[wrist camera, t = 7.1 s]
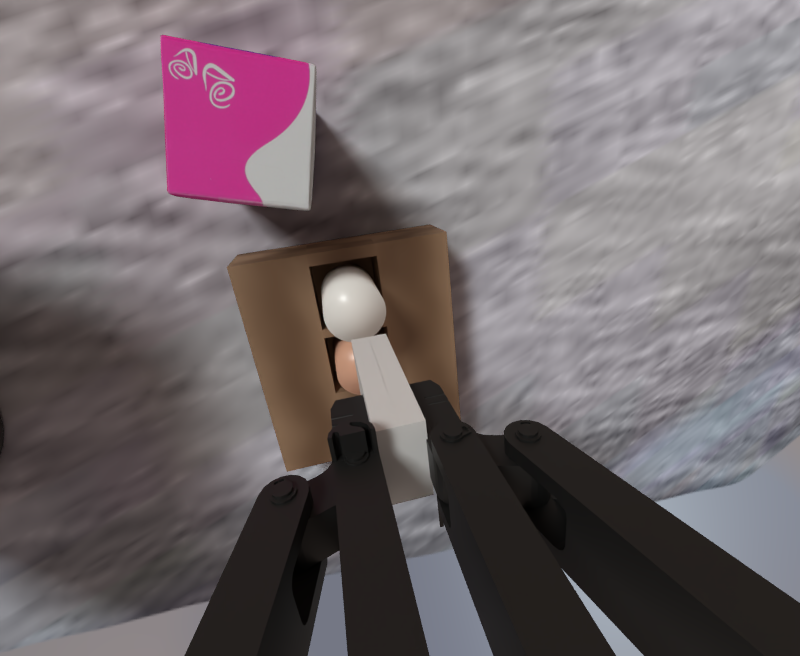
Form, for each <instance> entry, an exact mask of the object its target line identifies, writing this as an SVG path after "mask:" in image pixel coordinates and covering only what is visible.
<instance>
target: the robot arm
mask: <svg viewBox="0 0 800 656" xmlns="http://www.w3.org/2000/svg"><path fill="white" fill-rule="evenodd" d="M351 343H352V349H353V354H354V360H355V366H356V371H357V377H358V383H359V388H360V394H361V395H359V396H354V397H349V398H345V399H340V400H335V402H334V404H333V406H332V408H331V409H330V410H331V423H332V430H331V431H330V432H329V433H328V438H327V440H328V445H329V449H330V454H331V458H332V464H331V465H330V466H329V468H328V469H327V470H326V471H324V472H323V473H322V474H320V475H319V476H317V477H315V478H313V479H311V480H309V481H306V479H305V478H303V477H301V476H298V475H288V476H283V477H280V478H278V479H275V480H273V481H271V482H270V483H269V484H268V485H266V486H265V487H264V488H263V489H262V491H261V492H260V494H259V495H258V497H257V500H256V502H255V504H254V506H253V508H252V511H251V513H250V515H249V517H248V519H247V521H246V524H245V526H244V528H243V530H242V532H241V534H240V537H239V539H238V541H237V543H236V545H235V547H234V550H233V552H232V554H231V556H230V558H229V560H228V563H227V565H226V567H225V569H224V571H223V573H222V576H221V578H220V580H219V582H218V584H217V587H216V589H215V591H214V593H213V595H212V597H211V600H210V602H209V604H208V606H207V608H206V611H205V613H204V615H203V617H202V619H201V621H200V624H199V626H198V628H197V630H196V632H195V634H194V637H193V639H192V641H191V643H190V645H189V647H188V649H187V652H186V654H185V656H307V655H308V651H309V646H310V641H311V636H312V632H313V627H314V623H315V618H316V613H317V608H318V604H319V599H320V595H321V590H322V585H323V581H324V576H325V571H326V567H327V557H329V556H331V555H332V554H334V553H336V552H337V551H339V550H340V562H341V575H342V587H343V600H344V612H345V624H346V638H347V651H348V656H429V652H428V648H427V644H426V640H425V636H424V632H423V628H422V624H421V619H420V615H419V611H418V607H417V604H416V600H415V595H414V591H413V587H412V583H411V579H410V575H409V571H408V568H407V563H406V559H405V555H404V551H403V547H402V543H401V539H400V535H399V531H398V527H397V523H396V518H395V514H394V510H393V506H392V505H394V504H398V503H402V502H406V501H410V500H414V499H418V498H422V497H426V496H430V495H434V494H433V486H434V488H435V491H436V493H437V502H438V511H439V521H440V527H443V526H444V525H445V527H446V530H447V533H448V535H449V538H450V541H451V543H452V546H453V549H454V551H455V554H456V557H457V559H458V562H459V565H460V567H461V570H462V573H463V575H464V578H465V581H466V584H467V586H468V589H469V591H470V594H471V597H472V600H473V602H474V605H475V607H476V610H477V613H478V616H479V618H480V621H481V624H482V626H483V629H484V631H485V634H486V637H487V640H488V642H489V645H490V648H491V650H492V653H493V656H616V655H615V653H614V652H613V650H612V649H611V647H610V645H609V644H608V642H607V641H606V639H605V638H604V636H603V634H602V633H601V631H600V629H599V628H598V626H597V625H596V623H595V622H594V620H593V618H592V617H591V615H590V613H589V612H588V610H587V609H586V607H585V606H584V604H583V602H582V601H581V599H580V598H579V596H578V594H577V593H576V591H575V590H574V588H573V586H572V585H571V583H570V582H569V580H568V579H567V577H566V575H565V574H564V572H563V570H564V571H565V572H566V573H567V575H568V576H569V577H570V578H571V579H572V580H573V581H574V582H575V583H576V584H577V585H578V586H579V587H580V588H581V589H582V590H583V591H584V593H585V594H586V595H587V596H588V597H589V598H590V599H591V600H592V601H593V602H594V603H595V604H596V605H597V606H598V607H599V608H600V609H601V611H602V612H603V613H604V614H605V615H606V616H607V617H608V618H609V619H610V620H611V621H612V622H613V623H614V624H615V625H616V626H617V627H618V628H619V630H621V632H622V633H623V634H624V635H625V636H626V637H627V638H628V639H629V640H630V641H631V642H632V643H633V644H634V645H635V647H637V649H638V650H639V651H640V652H641V653H642V654H643V655H644V656H800V603H799V602H797V601H796V600H794V599H793V598H792V597H790V596H789V595H787V594H786V593H785V592H783V591H782V590H780V589H779V588H777V587H776V586H774V585H773V584H772V583H770V582H769V581H767V580H766V579H764V578H763V577H762V576H760V575H759V574H757V573H756V572H754V571H753V570H752V569H750V568H748V567H747V566H745V565H744V564H743V563H741V562H740V561H739V560H737V559H736V558H734V557H733V556H731V555H730V554H729V553H727V552H726V551H724V550H723V549H721V548H720V547H719V546H717V545H716V544H714V543H713V542H711V541H710V540H709V539H707V538H706V537H704V536H703V535H701V534H700V533H698V532H697V531H695V530H694V529H693V528H691V527H690V526H688V525H687V524H686V523H684V522H682V521H681V520H680V519H678V518H677V517H675V516H674V515H673V514H671V513H670V512H668V511H667V510H665V509H664V508H663V507H661V506H660V505H658V504H657V503H655V502H654V501H653V500H651V499H650V498H648V497H647V496H645V495H644V494H643V493H641V492H640V491H638V490H637V489H635V488H634V487H632V486H631V485H630V484H628V483H627V482H625V481H624V480H622V479H621V478H620V477H618V476H617V475H615V474H614V473H612V472H611V471H610V470H608V469H607V468H605V467H604V466H602V465H601V464H600V463H598V462H597V461H595V460H594V459H592V458H591V457H589V456H588V455H587V454H585V453H584V452H582V451H581V450H579V449H578V448H577V447H575V446H574V445H572V444H571V443H569V442H568V441H567V440H565V439H564V438H562V437H561V436H559V435H558V434H556V433H555V432H554V431H552V430H551V429H549V428H548V427H546V426H545V425H543V424H541V423H539V422H535V421H530V420H520V421H516V422H512V423H511V424H509V425H508V426H506V428H505V430H504V435H482V434H478V433H476V432H475V430H474V429H473V428H472V427H471V426H470V425H468V424H466V423H463V422H461V420H460V418H459V417H458V415H457V413H456V412H455V410H454V408H453V407H452V405H451V403H450V402H449V401H448V398H447V397H446V395H445V394H444V392H443V390H442V388H441V387H440V385H438V384H437V383H435V382H433V381H432V380H426V381H422V382H417V383H412V384H409V383H408V381H407V379H406V377H405V374H404V372H403V370H402V368H401V366H400V364H399V361H398V359H397V357H396V355H395V353H394V351H393V348H392V346H391V344H390V342H389V340H388V338H387V335H386V334H381V335H375V336H370V337H365V338H359V339H354V340H351ZM2 446H3V425H2V420H1V417H0V454H1V451H2ZM432 483H433V484H432ZM561 568H562V569H563V570H562V569H561Z"/></svg>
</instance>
